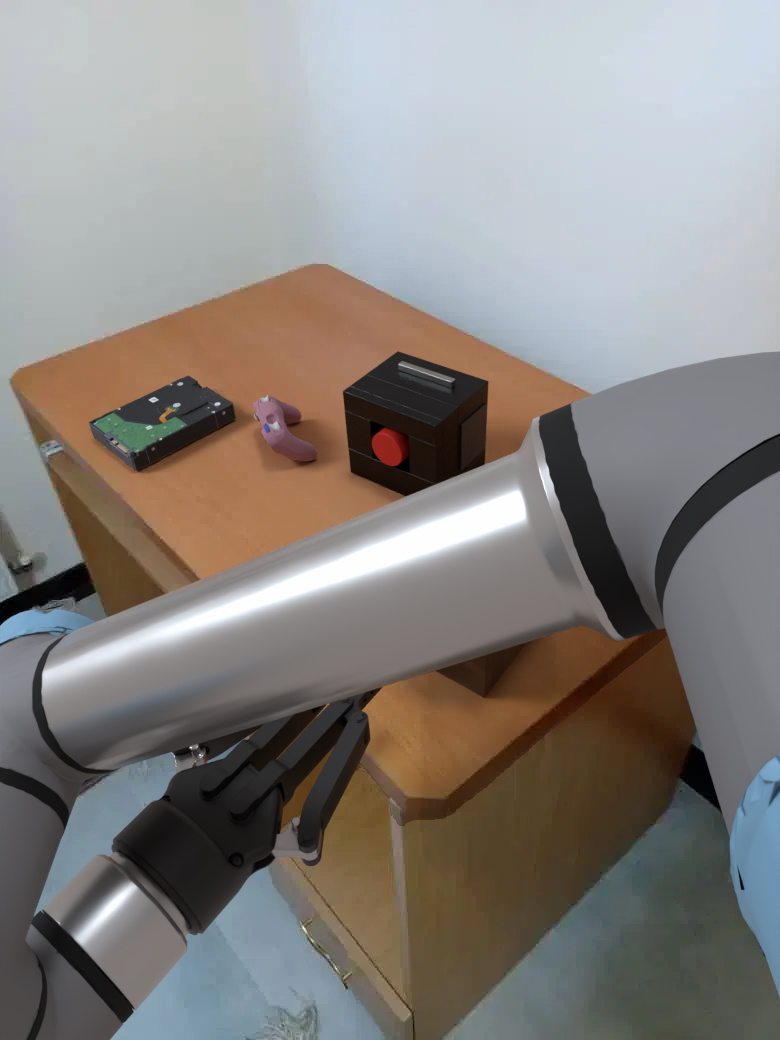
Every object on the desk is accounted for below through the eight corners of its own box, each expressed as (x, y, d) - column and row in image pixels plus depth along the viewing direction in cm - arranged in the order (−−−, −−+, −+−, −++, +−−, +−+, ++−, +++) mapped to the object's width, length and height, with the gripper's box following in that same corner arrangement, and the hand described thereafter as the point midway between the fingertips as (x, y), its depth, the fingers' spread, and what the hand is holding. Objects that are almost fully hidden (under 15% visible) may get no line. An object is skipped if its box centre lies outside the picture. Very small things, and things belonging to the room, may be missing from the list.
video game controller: (273, 434, 100) (241, 397, 96) (303, 413, 100) (271, 375, 95) (290, 479, 93) (255, 442, 88) (322, 458, 93) (288, 419, 88)
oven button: (416, 459, 86) (415, 428, 83) (402, 471, 84) (401, 440, 82) (386, 447, 88) (385, 417, 85) (372, 458, 86) (370, 428, 84)
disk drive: (191, 392, 106) (92, 439, 98) (187, 374, 104) (85, 421, 97) (238, 420, 100) (137, 473, 93) (234, 402, 99) (131, 454, 91)
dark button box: (486, 463, 91) (490, 374, 84) (438, 510, 85) (437, 420, 78) (401, 430, 97) (397, 344, 89) (350, 472, 91) (341, 384, 83)
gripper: (97, 859, 51) (331, 630, 65) (240, 991, 45) (465, 706, 59) (60, 800, 46) (322, 565, 60) (215, 938, 40) (467, 641, 54)
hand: (392, 635), depth 59 cm, fingers closed
